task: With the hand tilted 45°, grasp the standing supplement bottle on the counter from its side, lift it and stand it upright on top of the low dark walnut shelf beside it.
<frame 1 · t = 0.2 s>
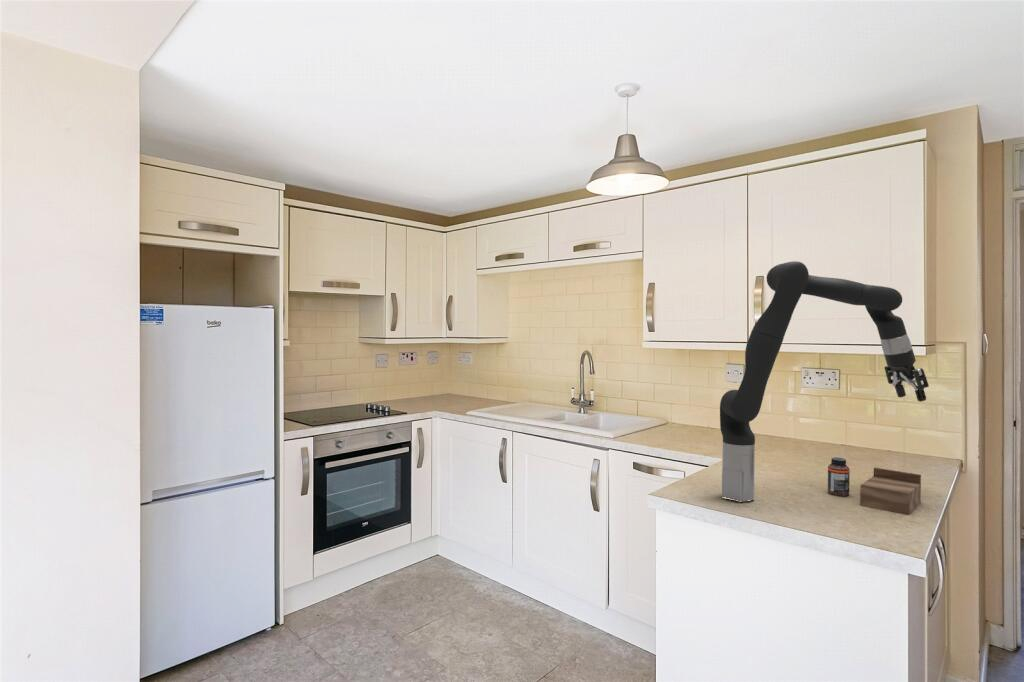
hand: (912, 398, 173), 31 cm above the countertop, tool tilted 20°, fingers open, 8 cm apart
supplement bottle: (838, 494, 176), on the countertop
walnut shelf: (890, 503, 166), on the countertop
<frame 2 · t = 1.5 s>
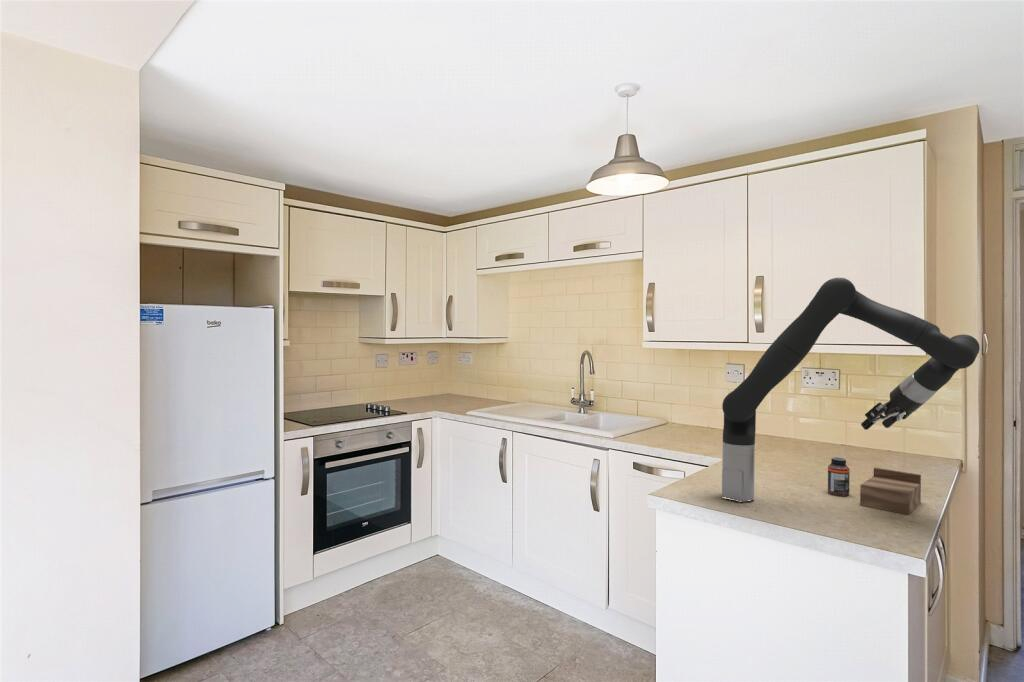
hand: (874, 426, 164), 23 cm above the countertop, tool tilted 45°, fingers open, 8 cm apart
nothing on the countertop moved.
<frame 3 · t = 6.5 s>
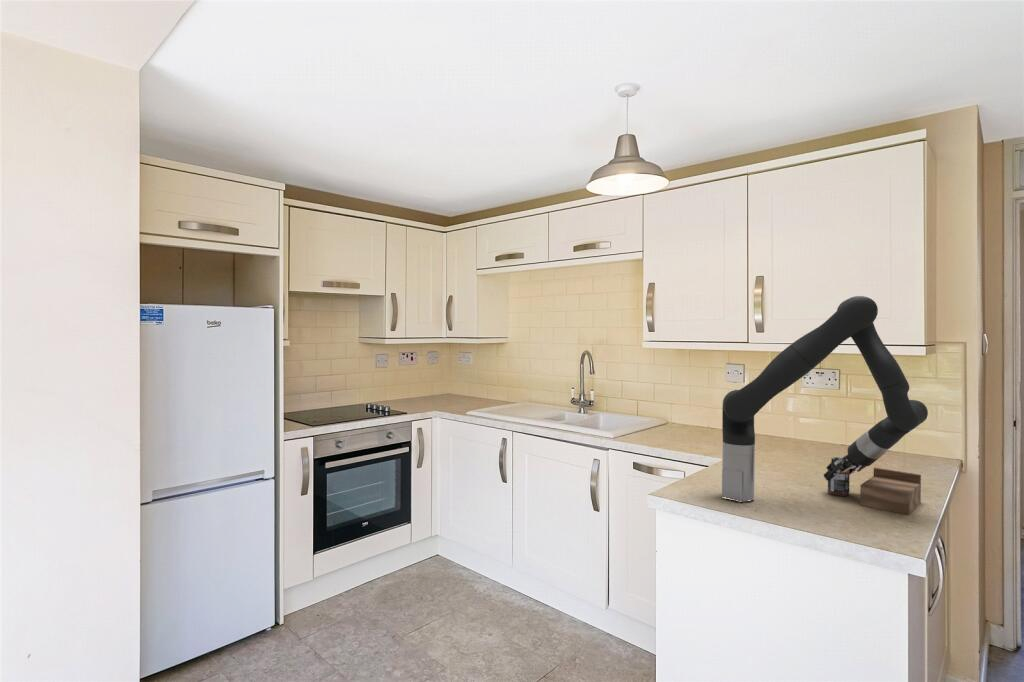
hand: (833, 477, 177), 5 cm above the countertop, tool tilted 45°, fingers closed on supplement bottle, 6 cm apart
supplement bottle: (838, 494, 176), on the countertop, touching gripper
when the fingers open (12 cm above the countertop, at t = 12.0 s): supplement bottle drops 1 cm, resting on walnut shelf.
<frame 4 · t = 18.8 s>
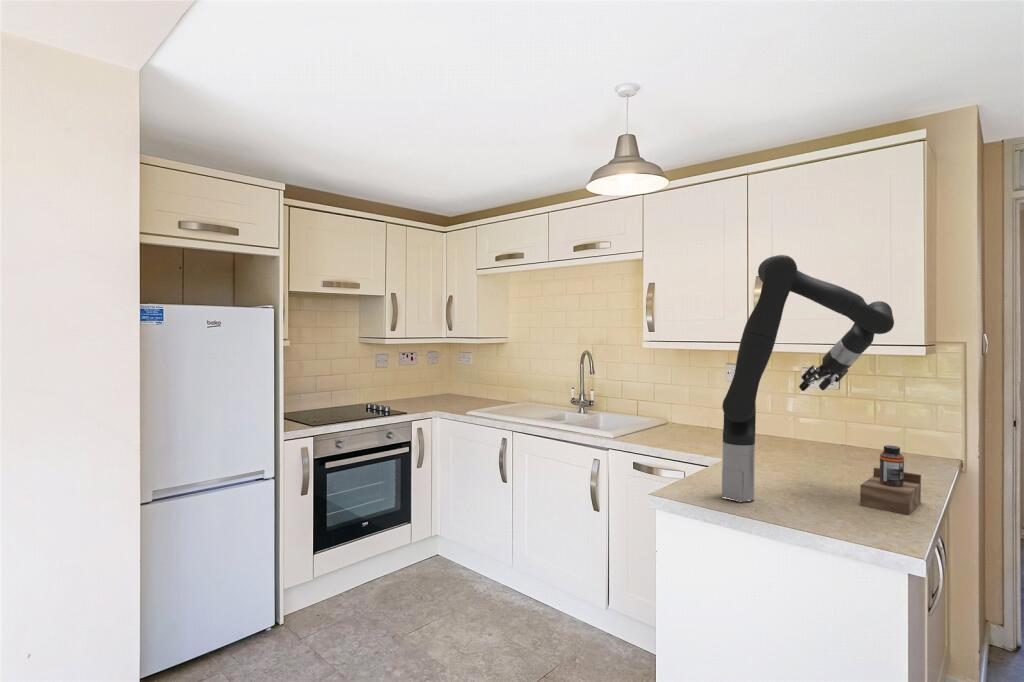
hand: (811, 388, 183), 33 cm above the countertop, tool tilted 45°, fingers open, 8 cm apart
supplement bottle: (891, 484, 165), point 6 cm above the countertop, touching walnut shelf
at the end: supplement bottle inside the target area on the walnut shelf (0.2 cm from its centre), point 5.8 cm above the walnut shelf's base; supplement bottle tilted 0°; the gripper is holding nothing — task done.
